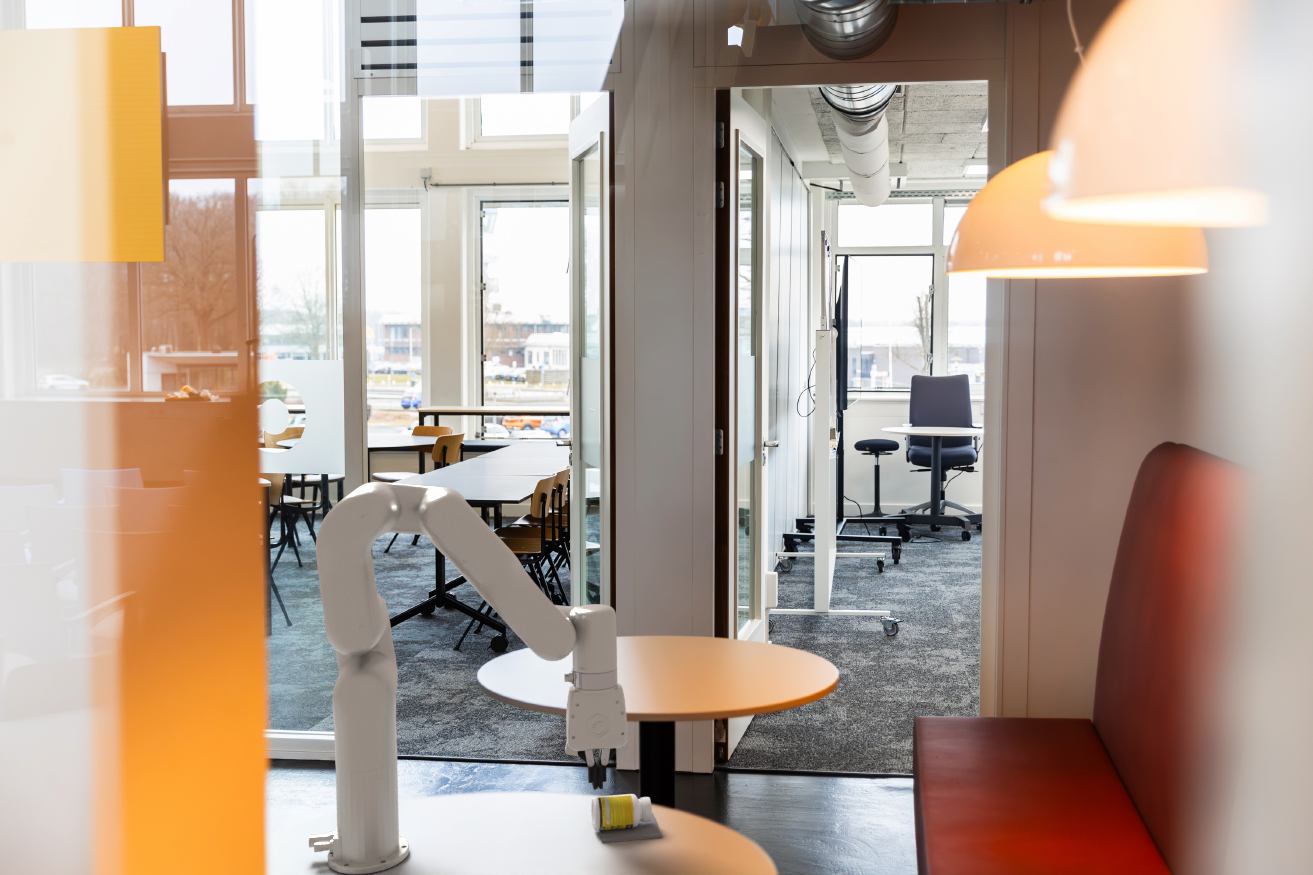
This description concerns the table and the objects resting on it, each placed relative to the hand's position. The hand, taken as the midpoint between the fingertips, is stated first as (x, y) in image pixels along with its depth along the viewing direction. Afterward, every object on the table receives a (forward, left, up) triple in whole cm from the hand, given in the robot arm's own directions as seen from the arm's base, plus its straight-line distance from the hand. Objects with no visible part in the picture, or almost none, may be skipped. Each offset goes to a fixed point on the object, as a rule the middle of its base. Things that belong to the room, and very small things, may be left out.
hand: (597, 785), depth 163 cm
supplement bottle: (-1, -1, -5) cm, 5 cm away
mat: (+5, 0, -8) cm, 9 cm away
